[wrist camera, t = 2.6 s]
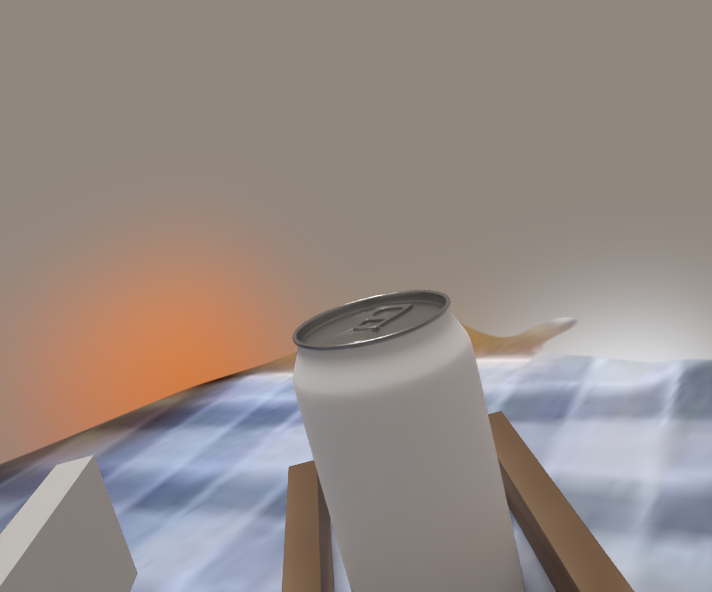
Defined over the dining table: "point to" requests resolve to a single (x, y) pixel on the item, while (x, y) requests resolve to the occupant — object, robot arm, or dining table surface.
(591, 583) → the u-shaped wooden frame
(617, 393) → the dining table surface
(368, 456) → the can
